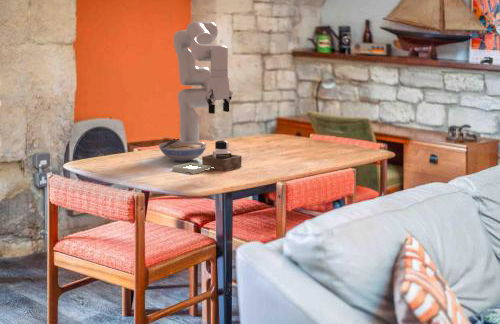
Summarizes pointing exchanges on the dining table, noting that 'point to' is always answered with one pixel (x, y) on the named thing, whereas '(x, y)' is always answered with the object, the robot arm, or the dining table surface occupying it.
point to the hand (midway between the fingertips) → (218, 112)
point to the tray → (192, 171)
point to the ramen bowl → (182, 149)
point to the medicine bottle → (221, 150)
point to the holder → (222, 162)
